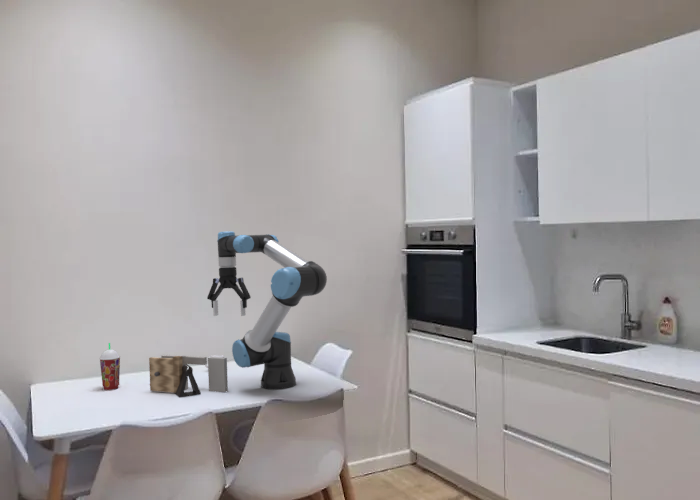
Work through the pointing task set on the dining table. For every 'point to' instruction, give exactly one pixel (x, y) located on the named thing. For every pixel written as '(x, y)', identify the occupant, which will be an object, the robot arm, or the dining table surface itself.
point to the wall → (209, 370)
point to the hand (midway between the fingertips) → (229, 315)
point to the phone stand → (182, 384)
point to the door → (165, 373)
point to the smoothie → (110, 369)
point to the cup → (215, 356)
